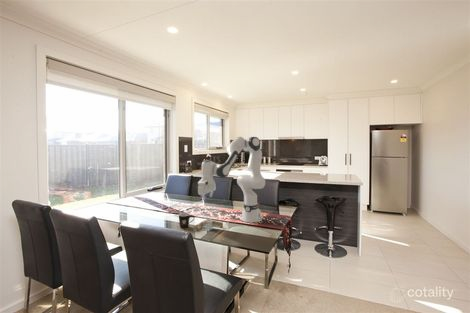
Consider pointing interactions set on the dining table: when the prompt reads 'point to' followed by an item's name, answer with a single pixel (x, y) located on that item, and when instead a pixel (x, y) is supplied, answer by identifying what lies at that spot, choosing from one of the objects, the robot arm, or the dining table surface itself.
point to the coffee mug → (184, 220)
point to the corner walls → (215, 223)
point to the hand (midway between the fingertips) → (207, 198)
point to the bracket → (207, 225)
